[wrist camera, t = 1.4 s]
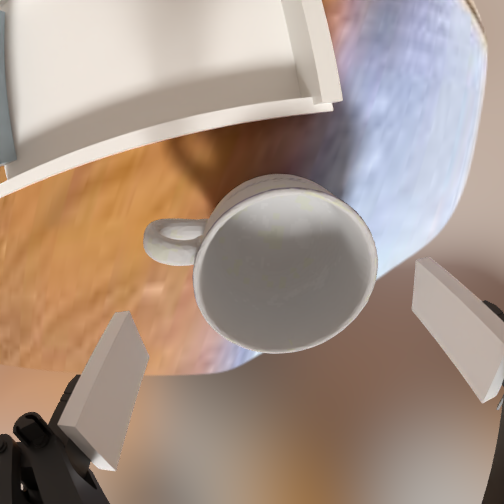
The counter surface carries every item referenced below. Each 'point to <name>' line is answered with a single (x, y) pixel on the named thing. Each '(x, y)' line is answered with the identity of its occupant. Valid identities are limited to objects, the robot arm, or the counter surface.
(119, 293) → the counter surface
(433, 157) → the counter surface
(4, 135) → the blue-grey panel and knob
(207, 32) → the tray
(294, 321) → the teacup
